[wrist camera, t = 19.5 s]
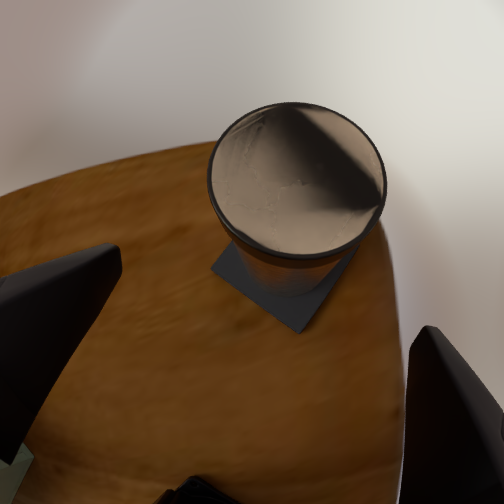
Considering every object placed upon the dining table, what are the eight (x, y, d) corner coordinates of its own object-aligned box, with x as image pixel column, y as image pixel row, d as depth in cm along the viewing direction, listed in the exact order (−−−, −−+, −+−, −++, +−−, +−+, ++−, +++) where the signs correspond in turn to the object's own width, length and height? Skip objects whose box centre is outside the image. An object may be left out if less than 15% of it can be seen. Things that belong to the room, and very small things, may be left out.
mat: (358, 246, 18) (360, 244, 18) (298, 334, 17) (299, 334, 17) (273, 190, 19) (273, 186, 19) (211, 270, 18) (210, 268, 18)
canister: (261, 313, 17) (244, 291, 7) (230, 232, 18) (185, 133, 9) (343, 278, 17) (418, 218, 7) (308, 202, 18) (334, 87, 9)
